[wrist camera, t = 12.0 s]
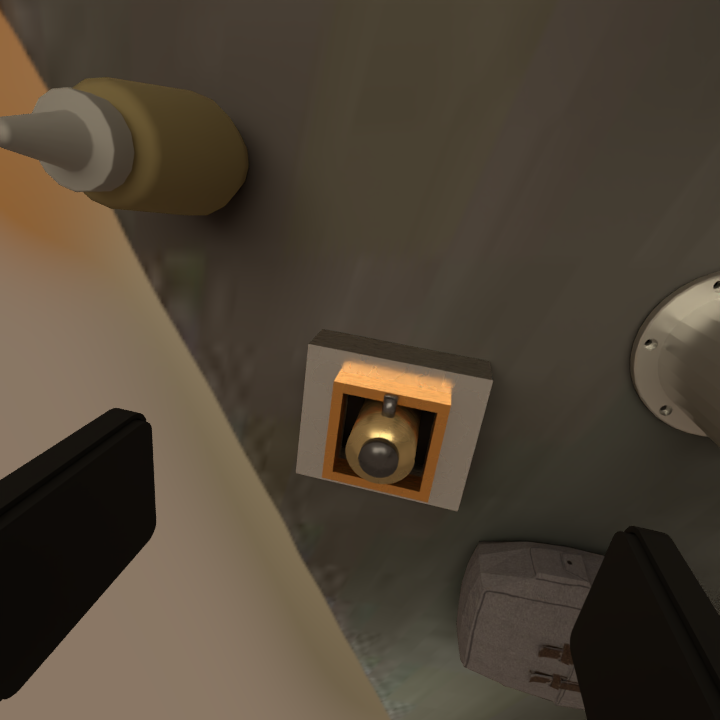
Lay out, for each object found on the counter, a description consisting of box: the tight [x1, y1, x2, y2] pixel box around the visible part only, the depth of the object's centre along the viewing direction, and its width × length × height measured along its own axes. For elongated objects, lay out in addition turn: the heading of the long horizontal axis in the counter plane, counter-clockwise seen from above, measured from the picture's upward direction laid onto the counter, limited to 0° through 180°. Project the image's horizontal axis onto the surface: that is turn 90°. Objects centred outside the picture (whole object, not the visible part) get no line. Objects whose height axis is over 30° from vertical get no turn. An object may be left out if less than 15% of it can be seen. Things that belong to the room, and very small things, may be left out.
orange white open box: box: [296, 329, 493, 511], centre depth 37 cm, size 14×12×6 cm
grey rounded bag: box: [456, 541, 605, 710], centre depth 39 cm, size 15×8×20 cm
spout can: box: [345, 394, 422, 484], centre depth 35 cm, size 6×5×9 cm
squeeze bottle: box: [0, 77, 249, 215], centre depth 27 cm, size 8×8×18 cm
